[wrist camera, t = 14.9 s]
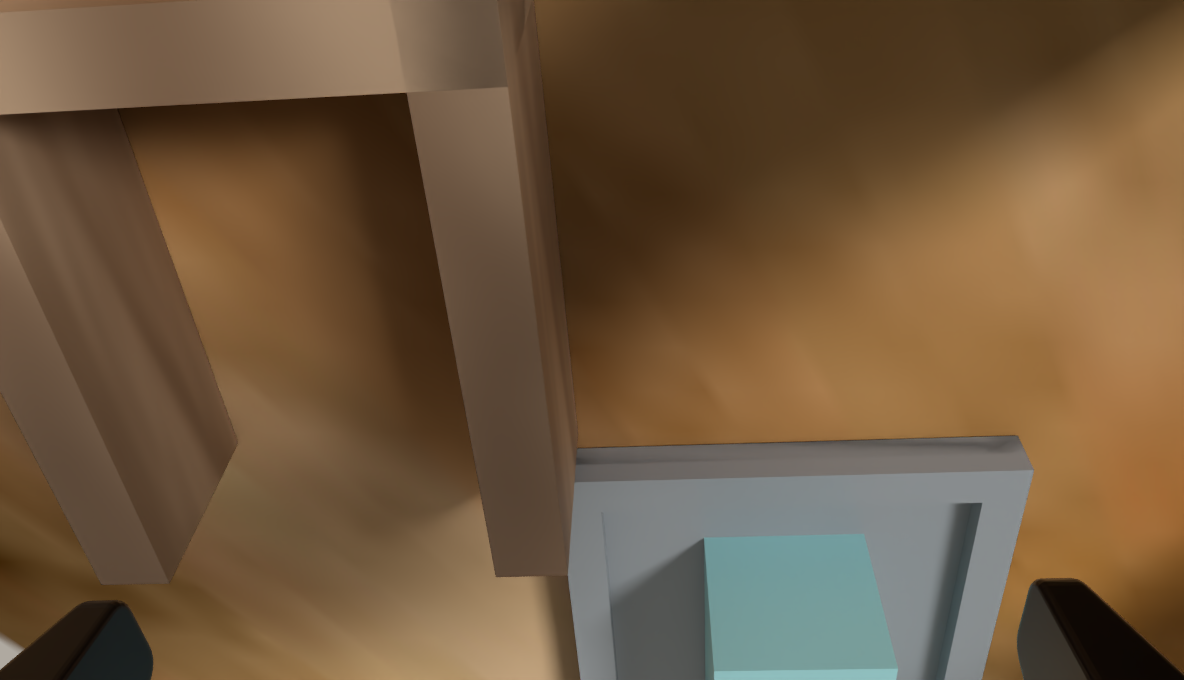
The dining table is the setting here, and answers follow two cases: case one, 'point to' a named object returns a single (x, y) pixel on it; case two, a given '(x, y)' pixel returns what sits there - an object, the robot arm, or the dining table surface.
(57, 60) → the bay
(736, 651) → the block
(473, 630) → the dining table surface
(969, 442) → the tray
